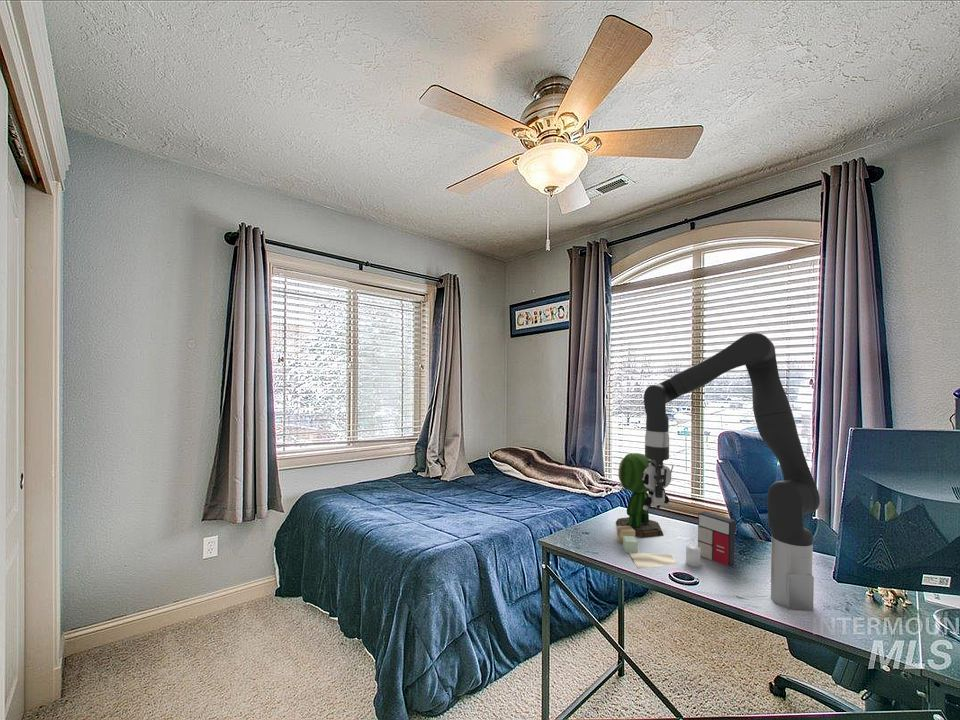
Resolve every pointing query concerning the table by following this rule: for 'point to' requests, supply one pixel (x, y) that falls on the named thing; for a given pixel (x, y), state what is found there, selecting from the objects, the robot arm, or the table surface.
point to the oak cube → (624, 532)
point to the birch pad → (651, 560)
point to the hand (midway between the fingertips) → (656, 494)
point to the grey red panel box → (716, 537)
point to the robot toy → (650, 483)
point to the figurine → (637, 496)
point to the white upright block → (693, 555)
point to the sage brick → (630, 544)
